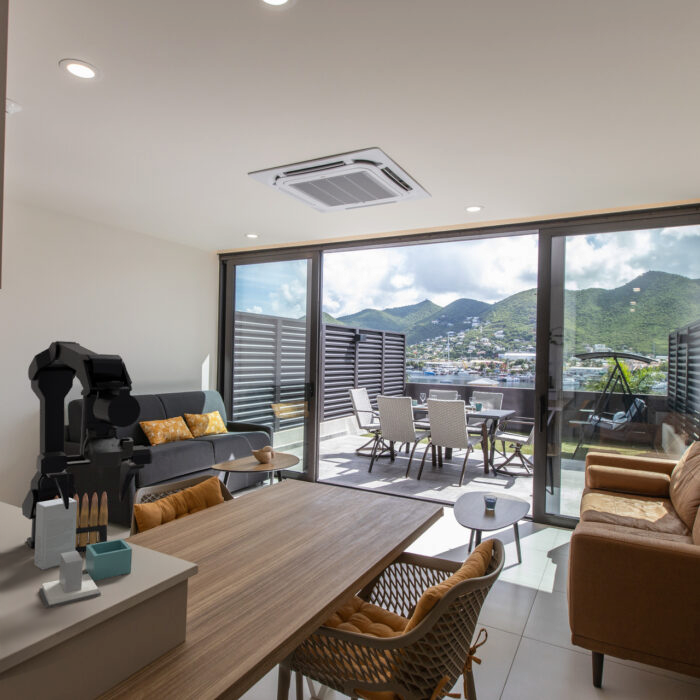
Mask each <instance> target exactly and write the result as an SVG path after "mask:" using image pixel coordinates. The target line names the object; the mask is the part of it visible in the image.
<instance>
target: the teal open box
mask: <svg viewBox="0 0 700 700" xmlns="http://www.w3.org/2000/svg"><path fill="white" fill-rule="evenodd" d="M132 554H133V548H132V547H131V546H130V545H129V544H128V543H127V541H125V540H124V539H123V538H118V539H113V540H107V541H106V542H101V543H95V544H90V545H86V552H85V569H84V570H85V571H86V572H87V574H89V575H90V577H91V578H92V580H93V581H94V582H95V581H99V580H100V579H101V580H104V578H105V579H109V578H108V577H110V578H113V577H112V576H114V577H118V576H117V575H119V576H122V575H121V574H123V575H127V574H131V573H132V558H133V557H132V556H133V555H132ZM130 572H131V573H130ZM126 573H127V574H126ZM101 580H100V581H101Z"/></svg>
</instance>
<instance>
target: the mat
mask: <svg viewBox="0 0 700 700" xmlns="http://www.w3.org/2000/svg"><path fill="white" fill-rule="evenodd" d="M38 591H39V593H40V597H41V598H42V601H43V604H44V607H45V609H51V608H54V607H59V606H63V605H66V604H70V603H76V602H79V601H83V600H88V599H91V598H95V596H96V597H99V596H98V595H100V596H101V594H102V593H101V591H100V590H99V589H98V593H97V594H93V595H89V596H85V597H80V598H76V599H72V600H68V601H64V602H60V603H55V604H51V605H49V603H48V601H47V599H46V596H45V594H44V591H43V589H42V587H40V588H39V590H38Z"/></svg>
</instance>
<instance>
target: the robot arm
mask: <svg viewBox="0 0 700 700" xmlns="http://www.w3.org/2000/svg"><path fill="white" fill-rule="evenodd" d="M27 375H28V379H29V381H30V389H31V391H32V392H33V394H35V396H36V397H37V399H38V400H39V454H38V455H37V457H36V465H35V466H36V470H37V471H36V472H35V475H34V476H33V477H32V479H31V480H30V485H29V486H30V488H29V489H30V490H28V492H27V494H26V496H25V498H24V500H23V502H22V505H21V509H22V510H21V511H22V513H21V514H22V515H23V517H25V518H27V519H28V520H31V531H30V533H31V534H30V536H29V537H27V538H26V541H27V543H28V546H29V548H30V549H34V550H35V533H36V504H37V503H38V502H44V501H49V500H54V499H55V497H56V496H58V498H59V499H60V498H62V500H63V503H64V506H65V509H66V510H67V509H69V498H72V499H74V496H75V494H77V495H78V493H77V491H78V489H77V488H76V485H75V475H74V473H72V472H70V471H69V469H68V467H73V466H76V467H77V466H84V465H87V466H88V465H90V467H91V468H92V469H94V470H95V469H96V470H100V469H102V468H109V467H110V468H111V467H112V468H118V467H120V476H119V477H120V478H119V486H118V487H119V488H118V502H120V503H123V502H124V500H125V497H126V495H127V493H128V490H129V489H130V488H129V487H130V485H131V482H132V481H133V479H134V477H135V476H136V474H137V473H138V472H139V471H140V470H143V469H145V468H146V465H151V464H153V457H154V456H153V450H151V448H148V447H147V446H144V445H134V439H133V438H132V437H121V438H120V439H118V435H117V433H118V431H117V428H118V427H119V428H126V427H130V426H131V425H134V423H136V422H137V420H138V419H139V417H140V414H141V406H140V403H139V401H138V399H136V397H135V396H133V395H131V391H132V389H133V387H132V384H133V382H132V378H131V376H130V374H129V372H128V370H127V366H126V364H125V361H124V359H123V358H122V357H121V356H120V354H105V353H102V354H101V353H97V352H94V351H92V350H90V349H88V348H86V347H84V346H82V345H81V344H80V343H78V342H76V341H64V340H62V341H61V340H56V341H52V342H51V343H50V345H49V347H48V348H47V349H44V350H42V351H40V352H39V353H37V354H35V355H34V356H33V359H32V360H31V362H30V364H29V365H28V371H27ZM75 378H77V379H78V381H79V383H80V385H81V386H82V388H83V389H82V390H81V391H80V395H81V396H82V405H81V406H82V407H81V410H82V411H81V425H80V446H79V454H73V455H67V453H65V452H66V450H65V449H66V448H65V446H66V443H65V439H66V436H65V435H66V434H65V429H66V427H65V425H66V424H65V423H66V422H65V419H66V417H65V416H66V415H65V401H66V398H67V395H69V392H71V390H72V388H73V385H74V379H75Z"/></svg>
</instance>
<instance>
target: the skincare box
mask: <svg viewBox="0 0 700 700" xmlns="http://www.w3.org/2000/svg"><path fill="white" fill-rule="evenodd" d="M76 514H77V501H76V500H74V499H72V498H69V509H67V510H66V509H65V506H64V503H63V500H62V498H60V499H55V500H49V501H44V502H38V503H37V504H36V533H35V548H34V565H35V566H36V567H38V568H39V569H41V570H43V571H44V570H47V569H50V568H51V569H52V568H55V567H57V566H60V556H61V553H67V552H72V551H75V540H76Z"/></svg>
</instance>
